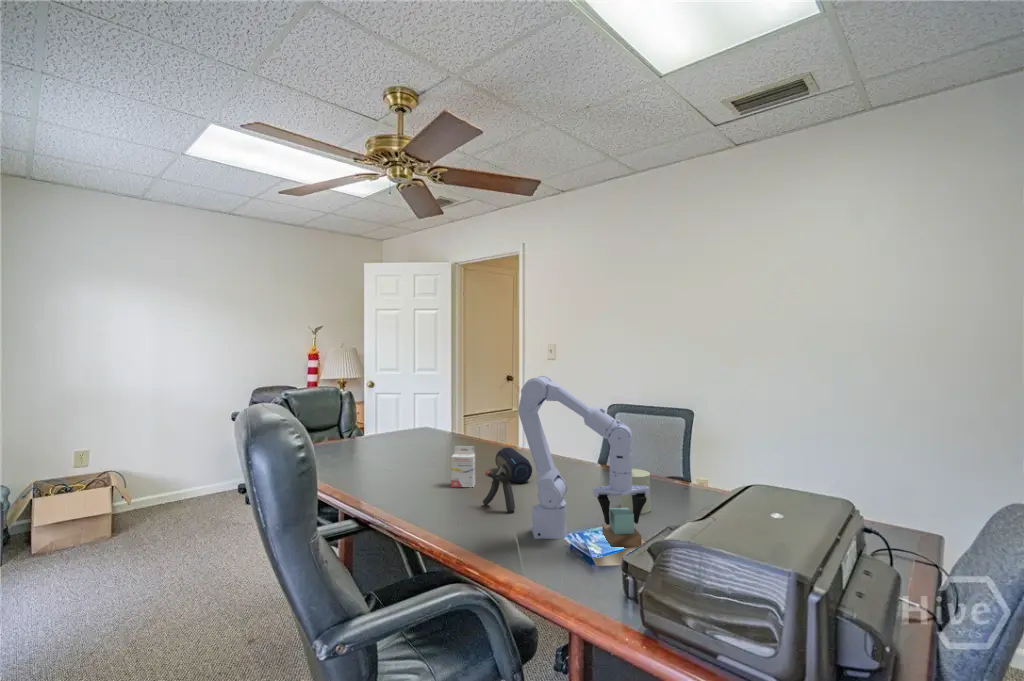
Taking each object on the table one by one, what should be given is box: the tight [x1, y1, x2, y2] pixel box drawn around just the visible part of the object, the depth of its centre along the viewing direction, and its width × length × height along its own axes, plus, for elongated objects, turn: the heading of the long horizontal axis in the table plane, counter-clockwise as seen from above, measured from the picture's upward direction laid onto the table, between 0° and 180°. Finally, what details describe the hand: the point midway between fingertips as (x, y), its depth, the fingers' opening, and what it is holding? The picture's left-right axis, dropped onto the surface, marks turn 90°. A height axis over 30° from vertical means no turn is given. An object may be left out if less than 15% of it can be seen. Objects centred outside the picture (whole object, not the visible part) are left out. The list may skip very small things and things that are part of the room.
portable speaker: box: [495, 447, 533, 484], centre depth 193 cm, size 25×10×10 cm, turn 16°
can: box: [620, 468, 652, 515], centre depth 154 cm, size 9×9×12 cm
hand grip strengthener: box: [482, 463, 516, 514], centre depth 155 cm, size 2×12×15 cm, turn 51°
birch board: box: [591, 538, 646, 567], centre depth 122 cm, size 16×18×1 cm
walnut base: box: [601, 524, 643, 548], centre depth 126 cm, size 8×8×3 cm
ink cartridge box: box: [450, 445, 476, 488], centre depth 180 cm, size 9×5×15 cm, turn 84°
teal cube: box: [609, 507, 635, 534], centre depth 126 cm, size 5×5×5 cm
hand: (621, 522), depth 126 cm, fingers open, 7 cm apart
